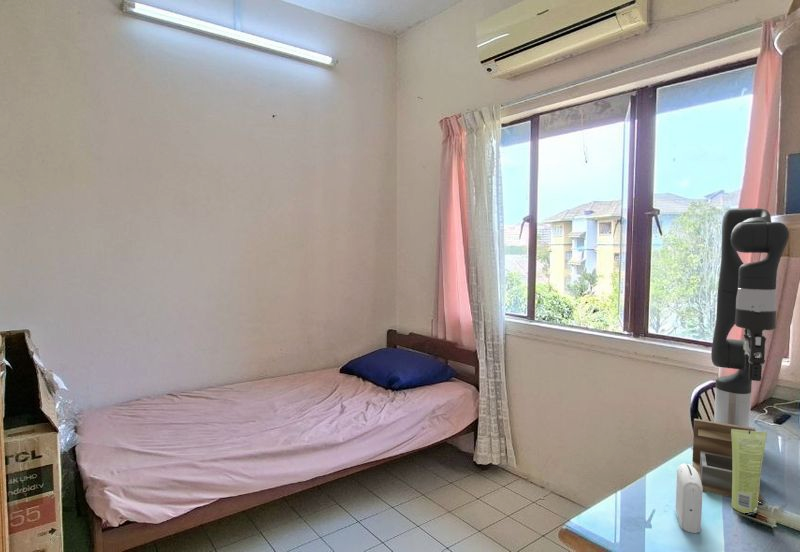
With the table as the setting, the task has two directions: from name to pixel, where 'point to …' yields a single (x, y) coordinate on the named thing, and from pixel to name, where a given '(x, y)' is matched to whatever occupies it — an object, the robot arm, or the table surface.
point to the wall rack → (715, 455)
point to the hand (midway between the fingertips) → (752, 376)
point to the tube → (746, 468)
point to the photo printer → (689, 498)
